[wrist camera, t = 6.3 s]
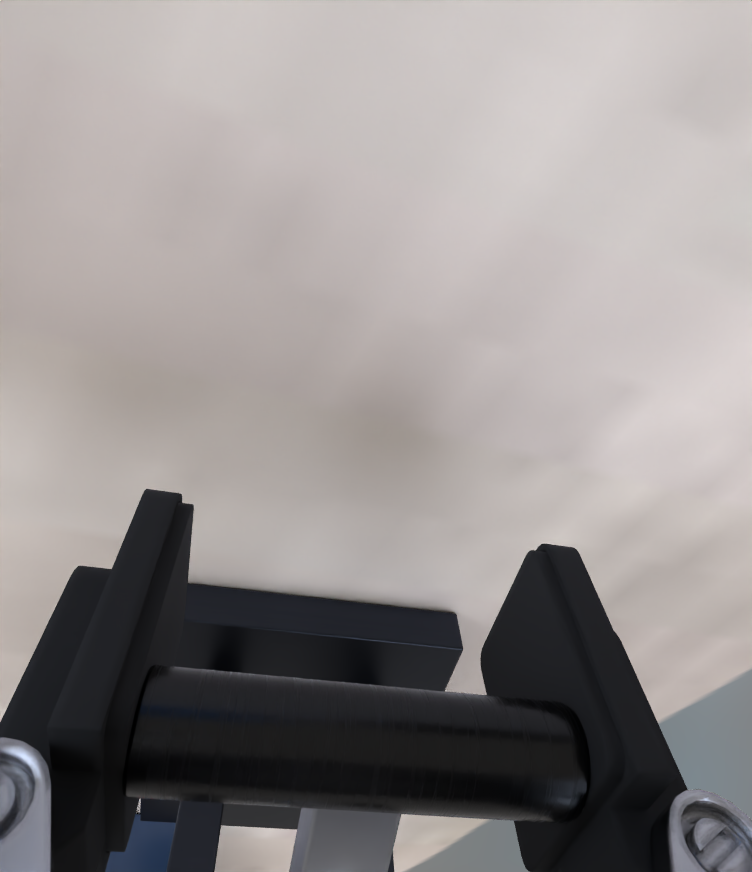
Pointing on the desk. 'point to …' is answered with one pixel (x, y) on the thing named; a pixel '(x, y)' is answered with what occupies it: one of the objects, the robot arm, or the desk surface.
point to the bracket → (299, 658)
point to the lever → (352, 756)
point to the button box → (144, 848)
